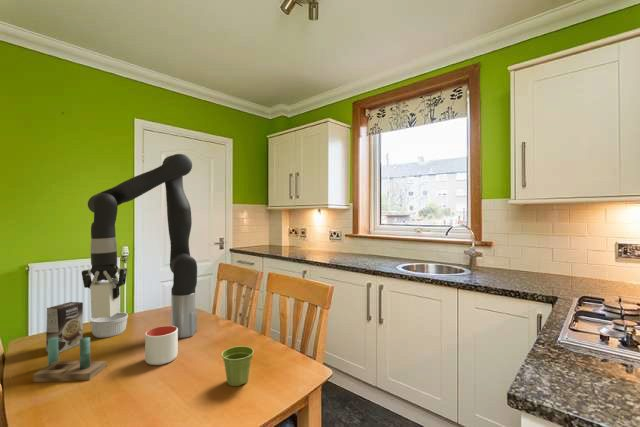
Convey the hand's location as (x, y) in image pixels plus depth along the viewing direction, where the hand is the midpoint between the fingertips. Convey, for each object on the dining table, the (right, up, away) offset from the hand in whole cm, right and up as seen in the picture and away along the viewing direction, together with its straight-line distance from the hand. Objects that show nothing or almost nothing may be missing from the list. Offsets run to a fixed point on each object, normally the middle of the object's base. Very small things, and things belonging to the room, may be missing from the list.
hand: (105, 298), depth 108 cm
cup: (+20, -21, -1) cm, 29 cm away
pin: (-13, -21, -6) cm, 25 cm away
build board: (-7, -21, -11) cm, 25 cm away
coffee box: (-21, -21, +9) cm, 31 cm away
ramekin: (-14, -21, +23) cm, 35 cm away
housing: (0, -6, 0) cm, 6 cm away
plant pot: (+50, -21, -15) cm, 57 cm away
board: (+1, -21, -11) cm, 23 cm away
